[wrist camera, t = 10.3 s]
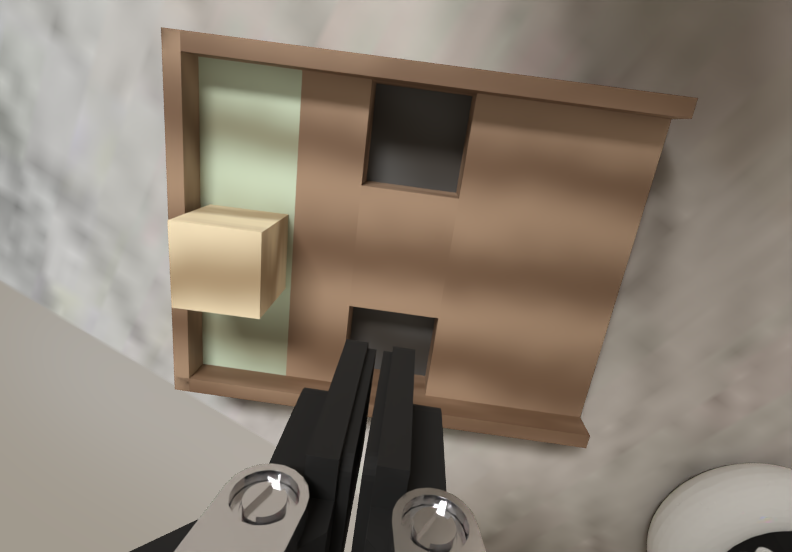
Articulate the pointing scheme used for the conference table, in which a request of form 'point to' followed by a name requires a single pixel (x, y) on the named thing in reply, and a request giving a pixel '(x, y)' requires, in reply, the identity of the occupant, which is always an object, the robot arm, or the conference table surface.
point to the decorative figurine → (727, 512)
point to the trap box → (413, 222)
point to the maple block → (227, 260)
